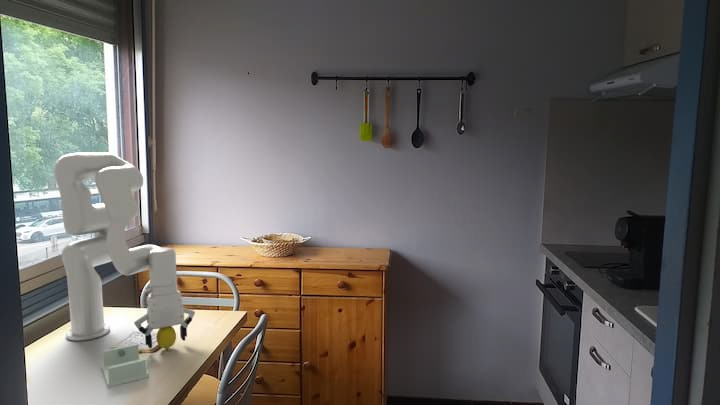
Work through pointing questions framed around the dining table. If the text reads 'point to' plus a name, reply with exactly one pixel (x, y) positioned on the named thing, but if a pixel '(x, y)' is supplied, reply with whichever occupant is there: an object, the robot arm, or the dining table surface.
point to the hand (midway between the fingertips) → (166, 342)
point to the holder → (123, 365)
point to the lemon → (166, 337)
